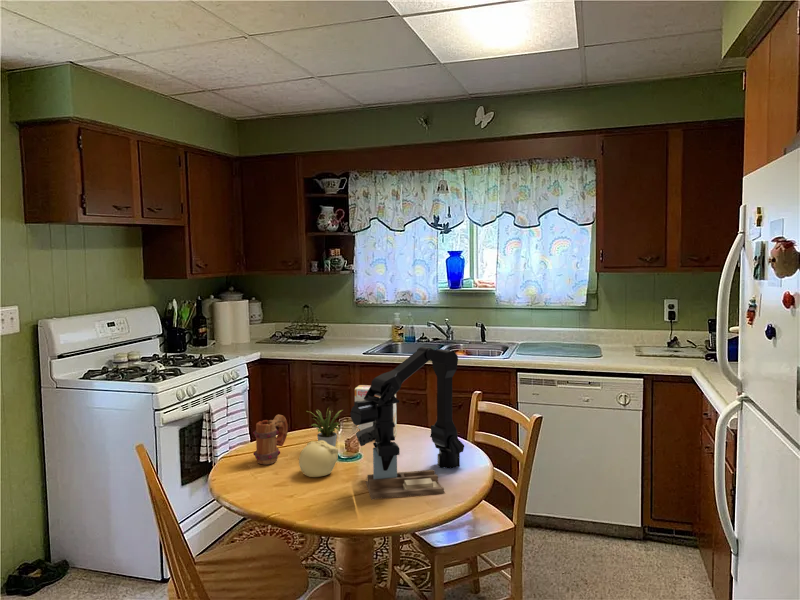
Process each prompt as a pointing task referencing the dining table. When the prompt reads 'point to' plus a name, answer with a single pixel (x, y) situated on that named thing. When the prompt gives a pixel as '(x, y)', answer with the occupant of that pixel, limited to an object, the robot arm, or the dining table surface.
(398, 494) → the rack
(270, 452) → the mug
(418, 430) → the dining table surface
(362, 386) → the coffeecake box
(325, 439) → the house plant
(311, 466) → the sculpture
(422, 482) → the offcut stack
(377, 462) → the light blue block
